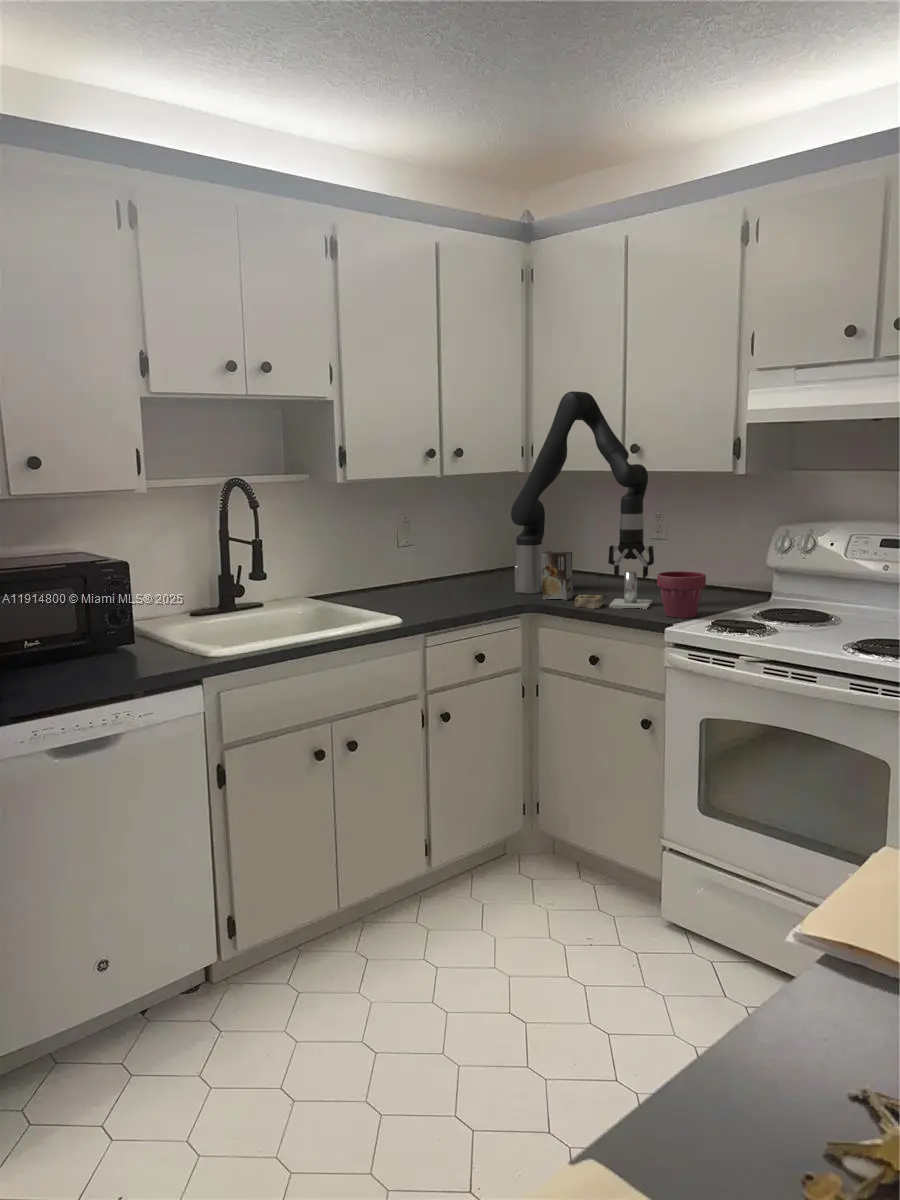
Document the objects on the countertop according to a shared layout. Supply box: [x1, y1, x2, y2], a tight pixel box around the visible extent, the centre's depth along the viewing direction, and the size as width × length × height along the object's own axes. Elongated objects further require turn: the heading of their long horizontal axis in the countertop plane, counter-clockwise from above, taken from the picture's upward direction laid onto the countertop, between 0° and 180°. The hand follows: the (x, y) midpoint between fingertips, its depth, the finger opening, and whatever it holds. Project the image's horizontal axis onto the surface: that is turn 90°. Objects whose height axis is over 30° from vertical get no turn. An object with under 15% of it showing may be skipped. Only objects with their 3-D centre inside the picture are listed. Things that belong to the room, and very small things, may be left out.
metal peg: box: [623, 570, 638, 603], centre depth 287 cm, size 4×4×10 cm
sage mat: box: [608, 598, 653, 610], centre depth 288 cm, size 12×12×1 cm
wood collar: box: [574, 594, 603, 609], centre depth 289 cm, size 8×8×3 cm
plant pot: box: [656, 570, 707, 619], centre depth 268 cm, size 14×14×13 cm
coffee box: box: [542, 550, 574, 601], centre depth 303 cm, size 9×6×16 cm
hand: (630, 577), depth 287 cm, fingers open, 8 cm apart
